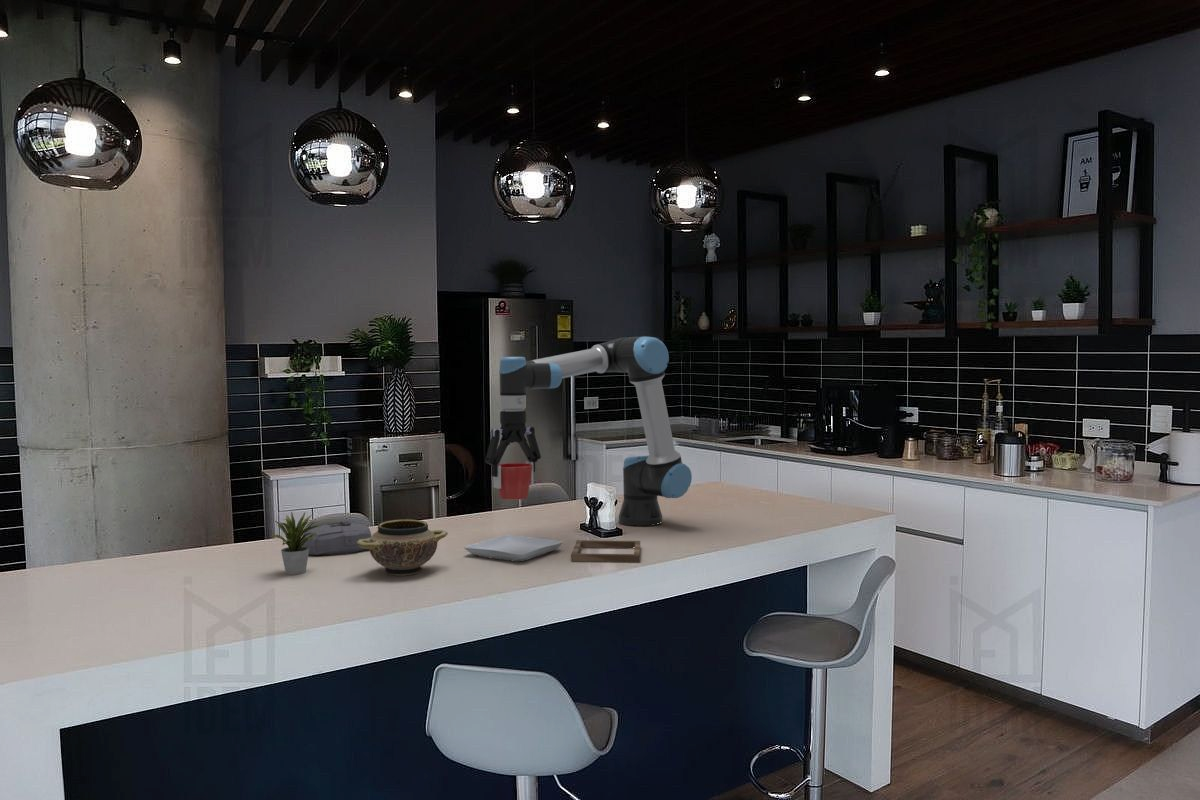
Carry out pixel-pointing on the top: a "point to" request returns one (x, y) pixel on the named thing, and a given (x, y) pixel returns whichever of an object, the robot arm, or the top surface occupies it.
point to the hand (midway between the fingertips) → (513, 486)
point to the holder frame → (605, 557)
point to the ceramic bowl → (402, 545)
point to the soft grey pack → (337, 538)
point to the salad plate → (513, 547)
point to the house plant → (295, 544)
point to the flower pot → (515, 480)
